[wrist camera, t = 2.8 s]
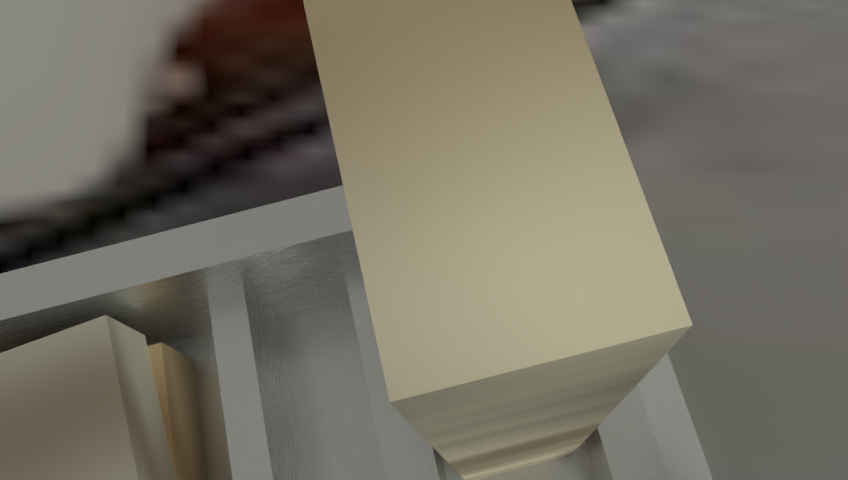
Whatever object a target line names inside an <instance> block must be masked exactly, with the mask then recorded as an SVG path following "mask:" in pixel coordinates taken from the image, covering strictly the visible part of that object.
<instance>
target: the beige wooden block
mask: <svg viewBox="0 0 848 480" xmlns="http://www.w3.org/2000/svg"><path fill="white" fill-rule="evenodd" d="M303 2H304V7H305V11H306V16H307V21H308V25H309V30H310V35H311V39H312V44H313V49H314V53H315V58H316V62H317V67H318V72H319V76H320V81H321V86H322V90H323V95H324V100H325V104H326V109H327V113H328V118H329V123H330V127H331V132H332V137H333V141H334V146H335V151H336V155H337V160H338V164H339V169H340V174H341V178H342V183H343V188H344V192H345V197H346V202H347V206H348V211H349V215H350V220H351V225H352V229H353V234H354V239H355V243H356V248H357V253H358V257H359V262H360V266H361V271H362V276H363V280H364V285H365V290H366V294H367V299H368V304H369V308H370V313H371V317H372V322H373V327H374V331H375V336H376V341H377V345H378V350H379V355H380V359H381V364H382V368H383V373H384V378H385V382H386V387H387V392H388V396H389V401H390V403H391V404H392V405H393V406H394V407H395V408H396V409H397V410H398V411H399V412H400V413H401V414H402V415H403V416H404V418H405V419H406V420H407V421H408V422H409V423H410V424H411V425H412V426H413V427H414V428H415V429H416V430H417V431H418V432H419V433H420V434H421V435H422V436H423V437H424V438H425V439H426V440H427V441H428V443H429V444H430V445H431V446H432V447H433V448H434V449H435V450H436V451H437V452H438V453H439V454H440V455H441V456H442V457H443V458H444V459H445V460H446V461H447V462H448V463H449V464H450V465H451V466H452V467H453V469H454V470H455V471H456V472H457V473H458V474H459V475H460V476H461V477H462V478H463V479H464V480H476V479H480V478H484V477H488V476H492V475H496V474H500V473H504V472H508V471H512V470H516V469H520V468H524V467H528V466H532V465H535V464H539V463H543V462H547V461H551V460H555V459H559V458H563V457H567V456H571V455H572V454H573V453H574V452H575V451H576V450H577V448H578V447H579V446H580V445H581V444H582V443H583V442H584V441H585V440H586V439H587V438H588V437H589V436H590V435H591V433H592V432H593V431H594V430H595V429H596V428H597V427H598V426H599V425H600V424H601V423H602V422H603V421H604V420H605V419H606V417H607V416H608V415H609V414H610V413H611V412H612V411H613V410H614V409H615V408H616V407H617V406H618V405H619V404H620V402H621V401H622V400H623V399H624V398H625V397H626V396H627V395H628V394H629V393H630V392H631V391H632V390H633V389H634V387H635V386H636V385H637V384H638V383H639V382H640V381H641V380H642V379H643V378H644V377H645V376H646V375H647V374H648V373H649V371H650V370H651V369H652V368H653V367H654V366H655V365H656V364H657V363H658V362H659V361H660V360H661V359H662V358H663V356H664V355H665V354H666V353H667V352H668V351H669V350H670V349H671V348H672V347H673V346H674V345H675V344H676V343H677V342H678V340H679V339H680V338H681V337H682V336H683V335H684V334H685V333H686V332H687V331H688V330H689V329H690V328H691V327H692V322H691V319H690V317H689V314H688V311H687V309H686V306H685V303H684V301H683V298H682V295H681V293H680V290H679V287H678V285H677V282H676V279H675V277H674V274H673V271H672V269H671V266H670V263H669V261H668V258H667V255H666V253H665V250H664V247H663V245H662V242H661V239H660V237H659V234H658V231H657V229H656V226H655V223H654V221H653V218H652V215H651V213H650V210H649V207H648V205H647V202H646V199H645V197H644V194H643V191H642V189H641V186H640V183H639V180H638V178H637V175H636V172H635V170H634V167H633V164H632V162H631V159H630V156H629V154H628V151H627V148H626V146H625V143H624V140H623V138H622V135H621V132H620V130H619V127H618V124H617V122H616V119H615V116H614V114H613V111H612V108H611V106H610V103H609V100H608V98H607V95H606V92H605V90H604V87H603V84H602V82H601V79H600V76H599V74H598V71H597V68H596V66H595V63H594V60H593V58H592V55H591V52H590V50H589V47H588V44H587V42H586V39H585V36H584V34H583V31H582V28H581V26H580V23H579V20H578V18H577V15H576V12H575V10H574V7H573V4H572V2H571V0H303Z"/></svg>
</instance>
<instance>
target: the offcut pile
mask: <svg viewBox="0 0 848 480" xmlns="http://www.w3.org/2000/svg"><path fill="white" fill-rule="evenodd" d="M0 480H207V472H206V464H205V456H204V448H203V440H202V432H201V424H200V415H199V407H198V399H197V391H196V383H195V375H194V367H193V359H192V358H190V357H188V356H186V355H185V354H183V353H181V352H179V351H177V350H175V349H173V348H171V347H169V346H167V345H165V344H164V343H162V342H161V343H157V344H153V345H149V346H147V342H146V337H145V335H144V334H142V333H140V332H138V331H136V330H134V329H132V328H130V327H128V326H126V325H124V324H122V323H121V322H119V321H117V320H115V319H113V318H111V317H109V316H107V315H104V316H101V317H98V318H96V319H93V320H90V321H87V322H85V323H82V324H79V325H76V326H74V327H71V328H68V329H65V330H63V331H60V332H57V333H54V334H52V335H49V336H46V337H43V338H41V339H38V340H35V341H32V342H29V343H27V344H24V345H21V346H18V347H16V348H13V349H10V350H7V351H5V352H2V353H0Z"/></svg>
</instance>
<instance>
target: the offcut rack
mask: <svg viewBox="0 0 848 480" xmlns="http://www.w3.org/2000/svg"><path fill="white" fill-rule="evenodd" d="M104 315H107V316H109V317H111V318H113V319H115V320H117V321H119V322H121V323H122V324H124V325H126V326H128V327H130V328H132V329H134V330H136V331H138V332H140V333H142V334H144V335H145V337H146V342H147V346H149V345H153V344H157V343H161V342H162V343H164V344H165V345H167V346H169V347H171V348H173V349H175V350H177V351H179V352H181V353H183V354H185V355H186V356H188V357H190V358H192V359H193V367H194V375H195V383H196V391H197V399H198V407H199V415H200V424H201V432H202V440H203V448H204V456H205V464H206V472H207V480H464V479H463V478H462V477H461V476H460V475H459V474H458V473H457V472H456V471H455V470H454V469H453V467H452V466H451V465H450V464H449V463H448V462H447V461H446V460H445V459H444V458H443V457H442V456H441V455H440V454H439V453H438V452H437V451H436V450H435V449H434V448H433V447H432V446H431V445H430V444H429V443H428V441H427V440H426V439H425V438H424V437H423V436H422V435H421V434H420V433H419V432H418V431H417V430H416V429H415V428H414V427H413V426H412V425H411V424H410V423H409V422H408V421H407V420H406V419H405V418H404V416H403V415H402V414H401V413H400V412H399V411H398V410H397V409H396V408H395V407H394V406H393V405H392V404H391V403H390V401H389V396H388V392H387V387H386V382H385V378H384V373H383V368H382V364H381V359H380V355H379V350H378V345H377V341H376V336H375V331H374V327H373V322H372V317H371V313H370V308H369V304H368V299H367V294H366V290H365V285H364V280H363V276H362V271H361V266H360V262H359V257H358V253H357V248H356V243H355V239H354V234H353V229H352V225H351V220H350V215H349V211H348V206H347V202H346V197H345V192H344V188H343V185H342V186H338V187H334V188H330V189H326V190H323V191H319V192H315V193H311V194H307V195H303V196H299V197H295V198H292V199H288V200H284V201H280V202H276V203H272V204H268V205H264V206H261V207H257V208H253V209H249V210H245V211H241V212H237V213H233V214H230V215H226V216H222V217H218V218H214V219H210V220H206V221H202V222H199V223H195V224H191V225H187V226H183V227H179V228H175V229H171V230H168V231H164V232H160V233H156V234H152V235H148V236H144V237H140V238H137V239H133V240H129V241H125V242H121V243H117V244H113V245H109V246H106V247H102V248H98V249H94V250H90V251H86V252H82V253H78V254H75V255H71V256H67V257H63V258H59V259H55V260H51V261H47V262H44V263H40V264H36V265H32V266H28V267H24V268H20V269H16V270H13V271H9V272H5V273H1V274H0V353H2V352H5V351H7V350H10V349H13V348H16V347H18V346H21V345H24V344H27V343H29V342H32V341H35V340H38V339H41V338H43V337H46V336H49V335H52V334H54V333H57V332H60V331H63V330H65V329H68V328H71V327H74V326H76V325H79V324H82V323H85V322H87V321H90V320H93V319H96V318H98V317H101V316H104ZM476 480H713V479H712V476H711V473H710V470H709V468H708V465H707V462H706V459H705V456H704V454H703V451H702V448H701V445H700V442H699V440H698V437H697V434H696V431H695V428H694V426H693V423H692V420H691V417H690V414H689V412H688V409H687V406H686V403H685V400H684V398H683V395H682V392H681V389H680V386H679V384H678V381H677V378H676V375H675V372H674V370H673V367H672V364H671V361H670V358H669V356H668V353H666V354H665V355H664V356H663V358H662V359H661V360H660V361H659V362H658V363H657V364H656V365H655V366H654V367H653V368H652V369H651V370H650V371H649V373H648V374H647V375H646V376H645V377H644V378H643V379H642V380H641V381H640V382H639V383H638V384H637V385H636V386H635V387H634V389H633V390H632V391H631V392H630V393H629V394H628V395H627V396H626V397H625V398H624V399H623V400H622V401H621V402H620V404H619V405H618V406H617V407H616V408H615V409H614V410H613V411H612V412H611V413H610V414H609V415H608V416H607V417H606V419H605V420H604V421H603V422H602V423H601V424H600V425H599V426H598V427H597V428H596V429H595V430H594V431H593V432H592V433H591V435H590V436H589V437H588V438H587V439H586V440H585V441H584V442H583V443H582V444H581V445H580V446H579V447H578V448H577V450H576V451H575V452H574V453H573V454H572V455H571V456H567V457H563V458H559V459H555V460H551V461H547V462H543V463H539V464H535V465H532V466H528V467H524V468H520V469H516V470H512V471H508V472H504V473H500V474H496V475H492V476H488V477H484V478H480V479H476Z"/></svg>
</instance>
